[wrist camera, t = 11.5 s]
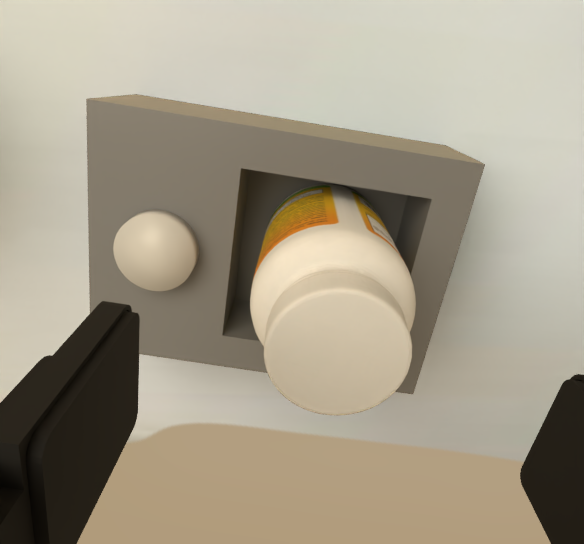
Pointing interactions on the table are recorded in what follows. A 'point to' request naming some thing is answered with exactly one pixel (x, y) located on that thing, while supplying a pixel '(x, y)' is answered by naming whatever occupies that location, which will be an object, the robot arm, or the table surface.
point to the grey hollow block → (247, 215)
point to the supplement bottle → (332, 302)
